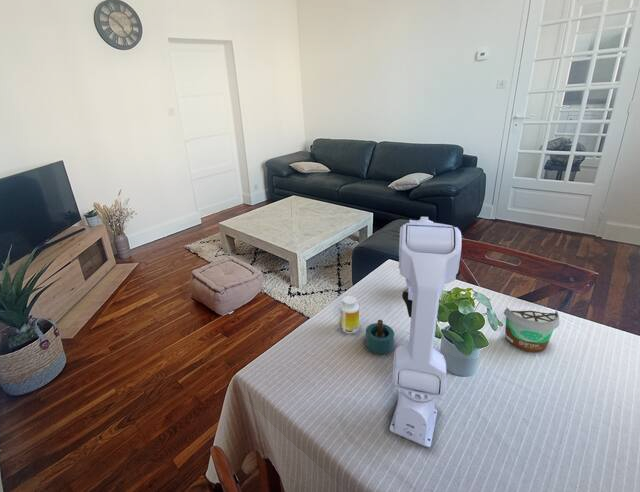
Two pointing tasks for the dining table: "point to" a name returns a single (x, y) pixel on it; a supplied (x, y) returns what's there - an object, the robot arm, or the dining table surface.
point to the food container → (530, 329)
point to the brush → (380, 330)
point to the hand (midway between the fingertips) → (416, 309)
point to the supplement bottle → (349, 315)
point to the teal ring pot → (379, 339)
